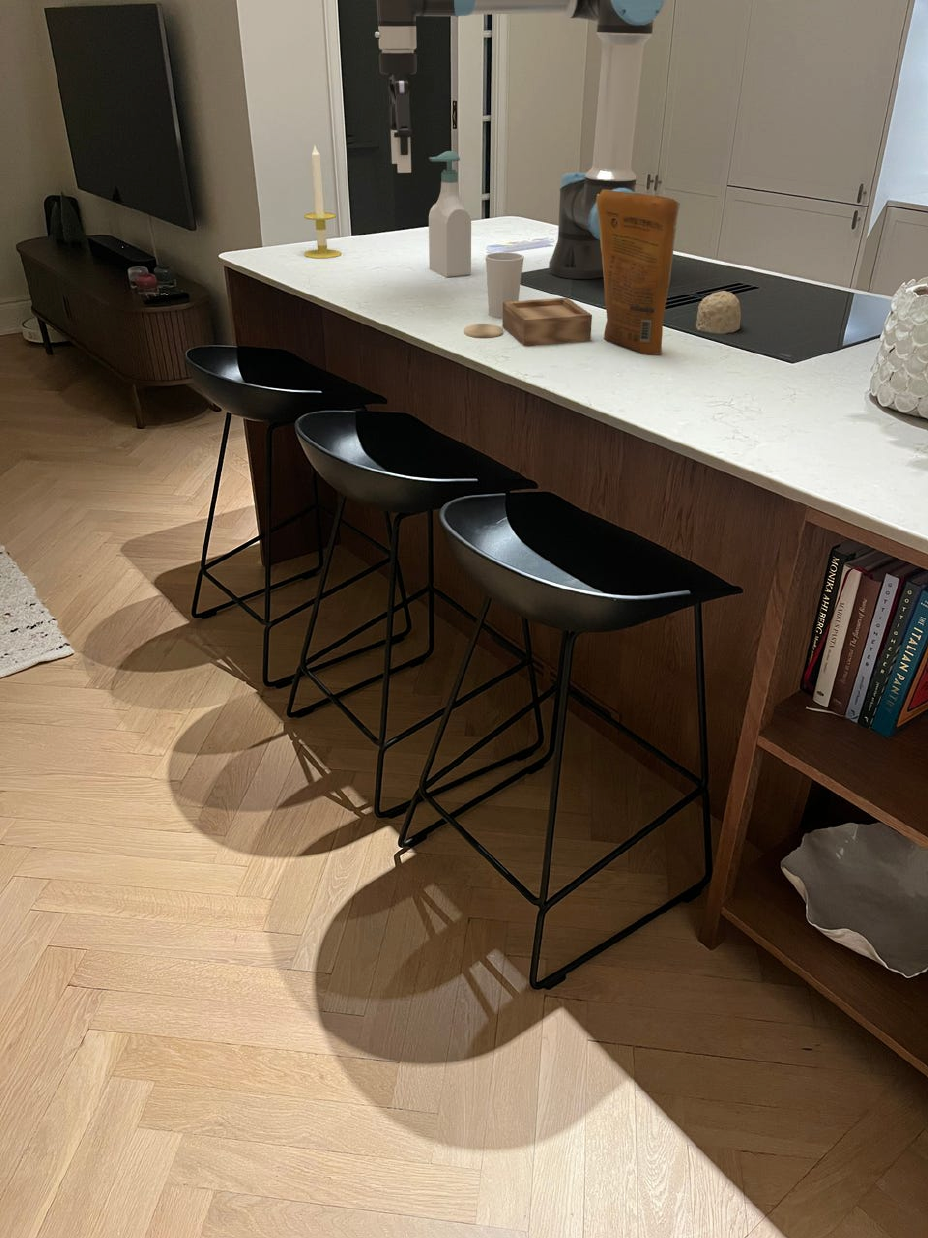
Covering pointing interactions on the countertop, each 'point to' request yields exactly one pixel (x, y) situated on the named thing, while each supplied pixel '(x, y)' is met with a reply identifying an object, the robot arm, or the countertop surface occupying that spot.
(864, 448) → the countertop surface
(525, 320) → the wooden tray
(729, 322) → the sponge
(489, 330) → the coaster
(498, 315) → the cup
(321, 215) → the candle
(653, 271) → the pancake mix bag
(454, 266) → the soap bottle
